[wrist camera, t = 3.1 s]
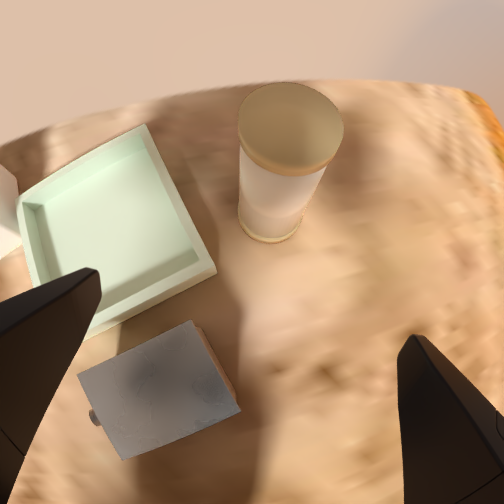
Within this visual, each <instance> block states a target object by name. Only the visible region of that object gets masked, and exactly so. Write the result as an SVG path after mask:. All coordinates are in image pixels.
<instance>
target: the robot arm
mask: <svg viewBox="0 0 504 504" xmlns="http://www.w3.org/2000/svg"><path fill="white" fill-rule="evenodd" d="M101 298H102V290H101V281H100V273H99V271H98V270H96V269H93V268H89V267H84V268H82V269H79V270H77V271H74V272H72V273H69V274H67V275H64V276H62V277H59V278H57V279H54V280H52V281H50V282H47V283H45V284H42V285H40V286H38V287H35V288H33V289H30V290H28V291H26V292H23V293H21V294H19V295H16V296H14V297H12V298H9V299H7V300H5V301H2V302H0V504H7V502H8V499H9V497H10V494H11V491H12V489H13V486H14V483H15V481H16V478H17V476H18V473H19V471H20V469H21V466H22V464H23V461H24V459H25V457H24V456H26V454H27V451H28V449H29V447H30V445H31V442H32V440H33V438H34V436H35V434H36V431H37V429H38V427H39V425H40V423H41V421H42V419H43V416H44V414H45V412H46V410H47V408H48V406H49V404H50V402H51V400H52V398H53V396H54V394H55V392H56V390H57V388H58V386H59V384H60V382H61V381H62V379H63V377H64V375H65V373H66V371H67V369H68V367H69V366H70V364H71V362H72V360H73V358H74V356H75V355H76V353H77V351H78V349H79V347H80V345H81V343H82V342H83V339H84V337H85V335H86V333H87V330H88V328H89V326H90V323H91V321H92V319H93V317H94V314H95V312H96V310H97V308H98V306H99V303H100V301H101ZM397 380H398V411H399V421H400V432H401V444H402V459H403V479H404V504H504V417H503V416H502V415H501V414H500V413H499V411H498V410H496V408H495V407H494V406H493V405H492V404H491V403H490V402H489V401H488V400H487V399H486V398H485V397H484V396H483V394H482V393H481V392H480V391H479V390H478V389H477V388H476V387H475V386H474V385H473V384H472V383H471V382H470V381H469V380H468V379H467V378H466V377H465V376H464V375H463V374H462V373H461V372H460V371H459V370H458V369H457V368H456V367H455V366H454V365H453V364H452V363H451V362H450V361H449V360H448V359H447V358H446V357H445V356H444V355H443V354H442V353H441V352H440V351H439V350H438V349H437V348H436V347H435V346H434V345H433V344H432V343H431V342H430V341H429V340H428V339H427V338H426V337H425V336H423V335H417V334H412V335H410V336H409V337H408V339H407V341H406V342H405V344H404V346H403V347H402V349H401V350H400V352H399V354H398V357H397Z"/></svg>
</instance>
